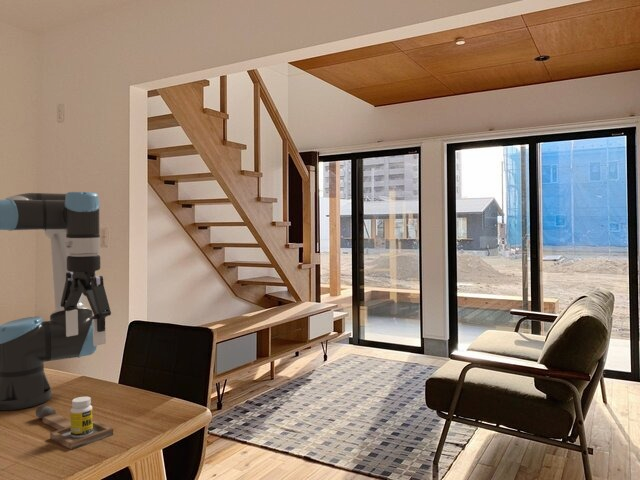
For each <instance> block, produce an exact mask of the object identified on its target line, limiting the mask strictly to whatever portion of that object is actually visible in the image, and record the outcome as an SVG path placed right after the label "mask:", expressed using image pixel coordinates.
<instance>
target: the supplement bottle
mask: <svg viewBox="0 0 640 480" xmlns="http://www.w3.org/2000/svg"><path fill="white" fill-rule="evenodd" d="M91 400H92V397H90V396H79V397H75V398H73V399H72V401H71V406H72V407H71V408H70V414H69V415H70V420H71V436H72V437H74V438H82V437H86V436H89V435H90V434H92V432H93V420H94V418H93V417H94V416H93V415H94V414H93V412H94V411H93V406H92V405H91V404H92V401H91Z"/></svg>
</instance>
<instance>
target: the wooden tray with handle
mask: <svg viewBox="0 0 640 480" xmlns="http://www.w3.org/2000/svg"><path fill="white" fill-rule="evenodd" d="M35 415H36V417H37V418H40V419H42V423H43V424H45V425H48V426H50V427H52V428H54V429H56V430H54V431H51V432H50V433H49V437H50V440H52V441H55V442H56V443H59V444H60V445H61V446H63V447H65V448H67V449H69V450H75V449H77V448H80V447H84V446H85V445H88V444H89V445H90V444H91V443H93V442H97V441H99V440H102V439H105V438H108V437H110V436H113V435H114V428H112V427H111V426H108V425H106V424H103V423H101V422H99V421H97V420H95V419H93V432H92V434H90V435H89V436H86V437H82V438H74V437H72V436H71V419H70V418H69V419H68V418H66V417H64V416H62V415H59V414H57V412H56V409H55V408H53V407H51V406H48V405H46V404H42V405H41V404H40V405H38V407H37V408H36V410H35Z"/></svg>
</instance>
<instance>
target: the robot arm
mask: <svg viewBox="0 0 640 480" xmlns="http://www.w3.org/2000/svg"><path fill="white" fill-rule="evenodd" d="M100 208H101V204H100V198H99V194H98V193H97V192H93V191H68V192H66V193H49V192H47V193H46V192H44V193H43V192H42V193H41V192H25V193H19V194H15V195H11V196H7V197H6V198H4V199H0V231H9V232H10V231H34V230H35V231H37V230H43V231H44V235H45V237H47V238H48V239H50V248H51V250H50V251H51V265H52V277H53V278H52V280H53V293H54V295H53V296H54V310H53V311H52V312H51V313H50V315H49V320H46V321H44V319H43V317H41V316H29V317H22V318H18V319H14V320H10V321H7V322H5V323H2V324H0V411H16V410H22V409H26V408H28V409H29V408H31V407H35V406H40V405H41V404H43V403H46V402H48V401H49V400H50V399H52V387H51V384H50V382H49V381H48V378H47V375H46V373H45V368H44V367H45V366H44V365H45V363H46V362H52V361H53V362H54V361H61V360H66V359H74V358H78V359H80V358H82V357H86V356H91V355H94V353H95V352H96V351H97V347H98V346H100V345H101V346H102V345H105V344H106V341H107V339H106V338H107V337H106V318H107V317H109V316H111V315H112V312H111V308H110V303H109V301H108V300H109V299H108V296H107V293H106V289H105V284H104V277H103V275H99V276H98V275H96V272H97V271H100V269H101V256H100V255H99V254H100V253H101V237H100V236H101V235H100ZM86 299H87V300H86ZM87 302H88V304H89V306H90V307H89V306H87Z"/></svg>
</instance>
